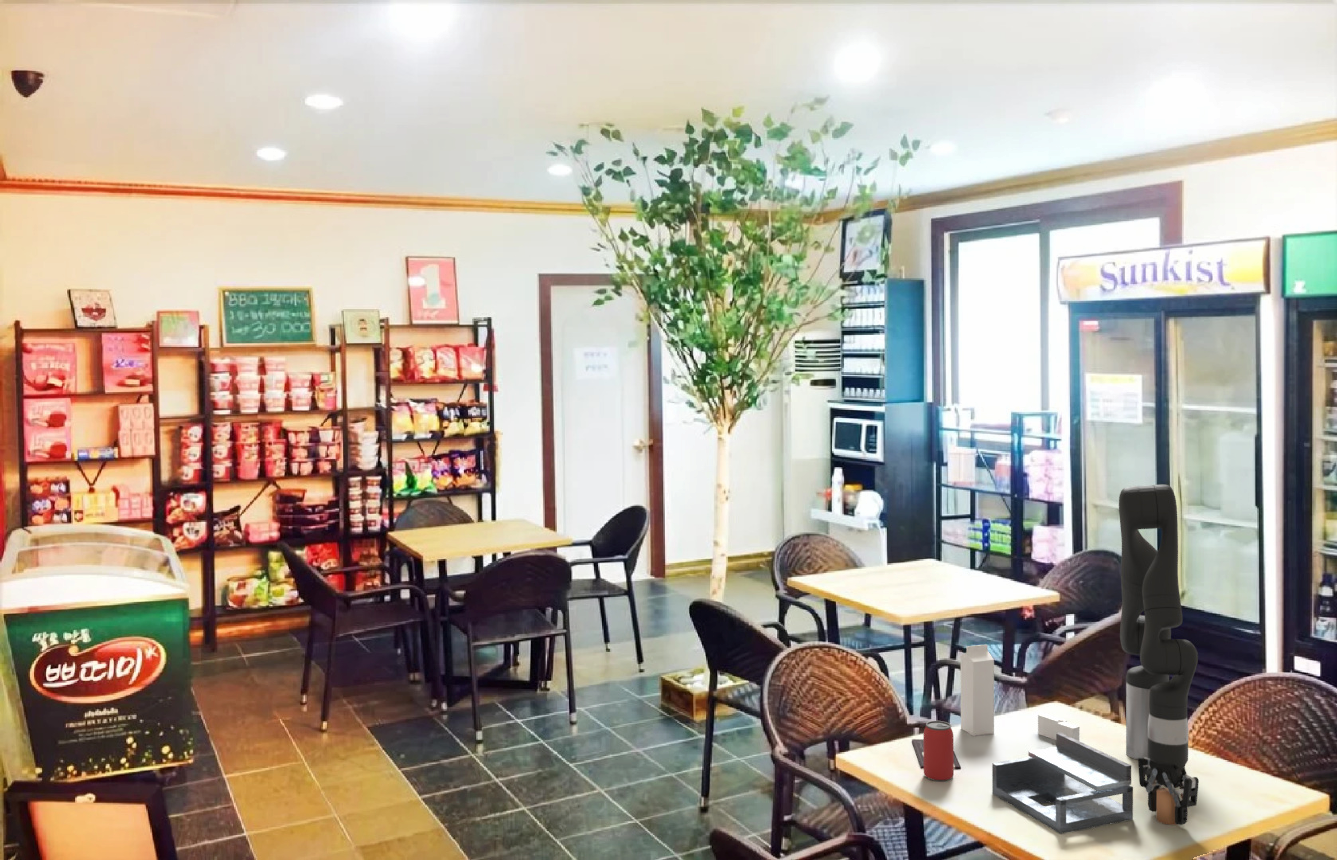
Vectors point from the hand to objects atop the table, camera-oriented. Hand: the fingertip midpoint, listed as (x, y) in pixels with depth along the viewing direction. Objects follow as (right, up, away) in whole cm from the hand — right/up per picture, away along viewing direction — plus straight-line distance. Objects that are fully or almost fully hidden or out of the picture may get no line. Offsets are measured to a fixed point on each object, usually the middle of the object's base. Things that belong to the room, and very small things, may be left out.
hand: (1167, 817), depth 225 cm
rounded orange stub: (0, -1, 0) cm, 1 cm away
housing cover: (-15, +7, +9) cm, 19 cm away
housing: (-19, -1, +8) cm, 21 cm away
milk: (-23, +2, +55) cm, 60 cm away
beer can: (-40, 0, +26) cm, 48 cm away
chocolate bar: (-38, 0, +40) cm, 55 cm away
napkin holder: (-6, +2, +47) cm, 48 cm away
